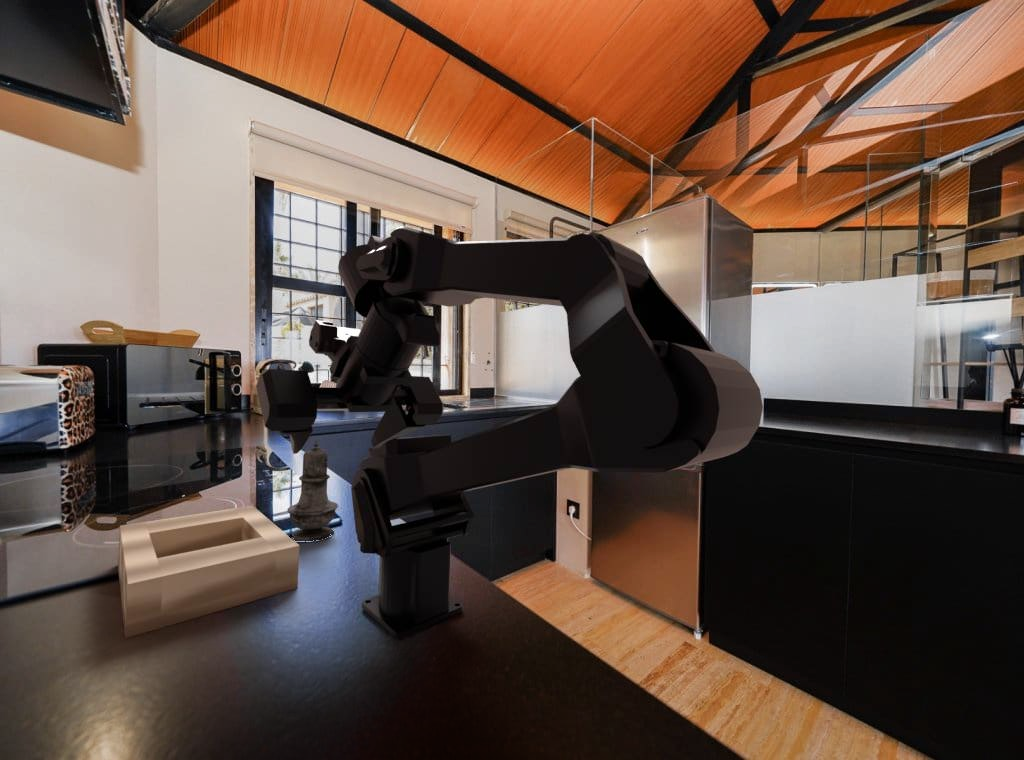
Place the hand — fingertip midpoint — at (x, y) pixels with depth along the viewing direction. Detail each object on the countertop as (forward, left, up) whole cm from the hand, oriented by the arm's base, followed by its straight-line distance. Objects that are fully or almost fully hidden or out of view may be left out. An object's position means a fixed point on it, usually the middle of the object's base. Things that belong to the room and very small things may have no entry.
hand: (336, 447), depth 49 cm
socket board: (+1, +12, -12) cm, 17 cm away
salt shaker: (+6, 0, -12) cm, 14 cm away
